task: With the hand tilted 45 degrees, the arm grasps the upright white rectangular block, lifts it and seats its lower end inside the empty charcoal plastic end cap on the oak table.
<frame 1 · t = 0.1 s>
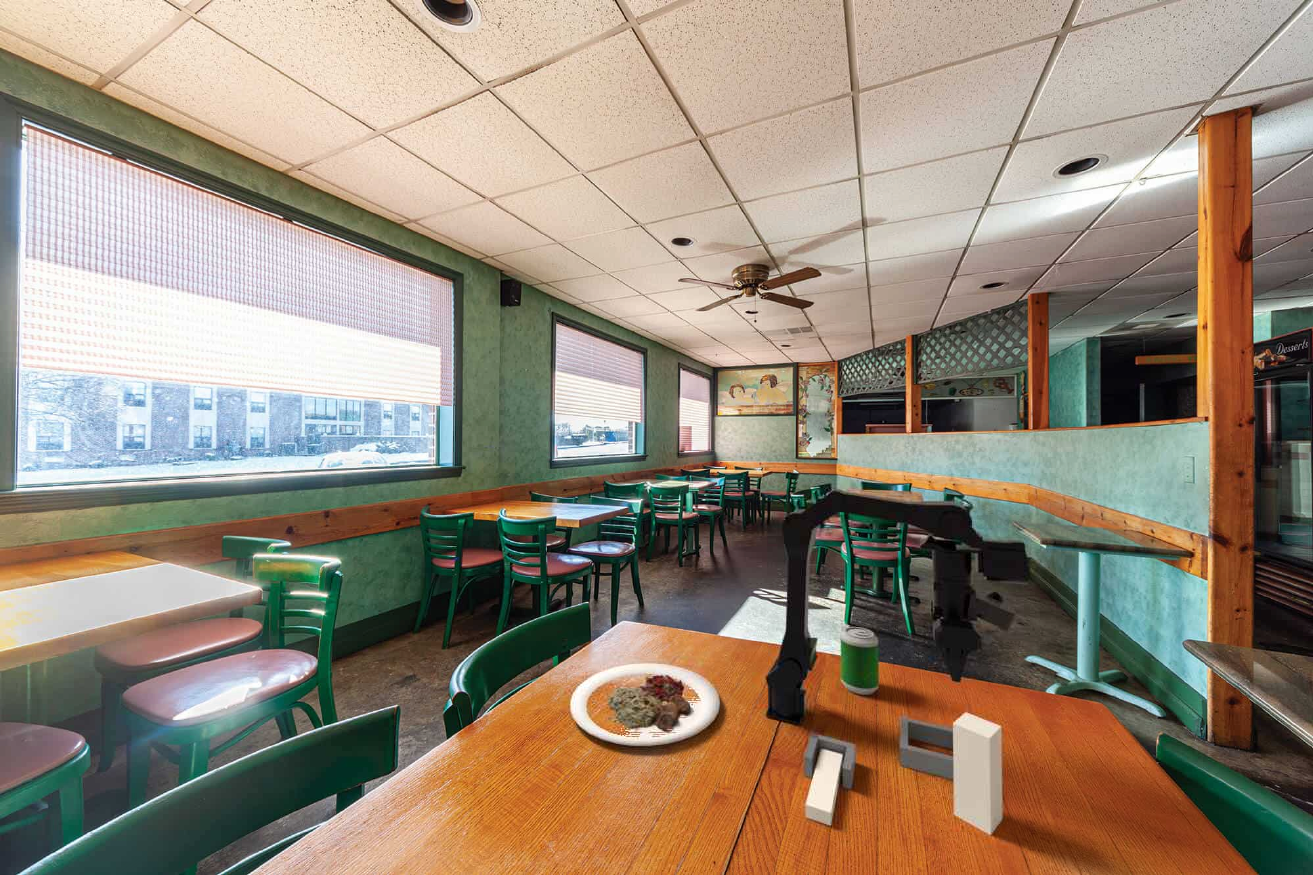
hand: (953, 669, 81), 15 cm above the table, tool pointing down, fingers open, 9 cm apart
white rectangular block: (978, 816, 68), on the table
plated food: (645, 707, 98), on the table
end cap: (933, 756, 81), on the table
soda can: (859, 688, 104), on the table
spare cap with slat: (830, 768, 78), on the table
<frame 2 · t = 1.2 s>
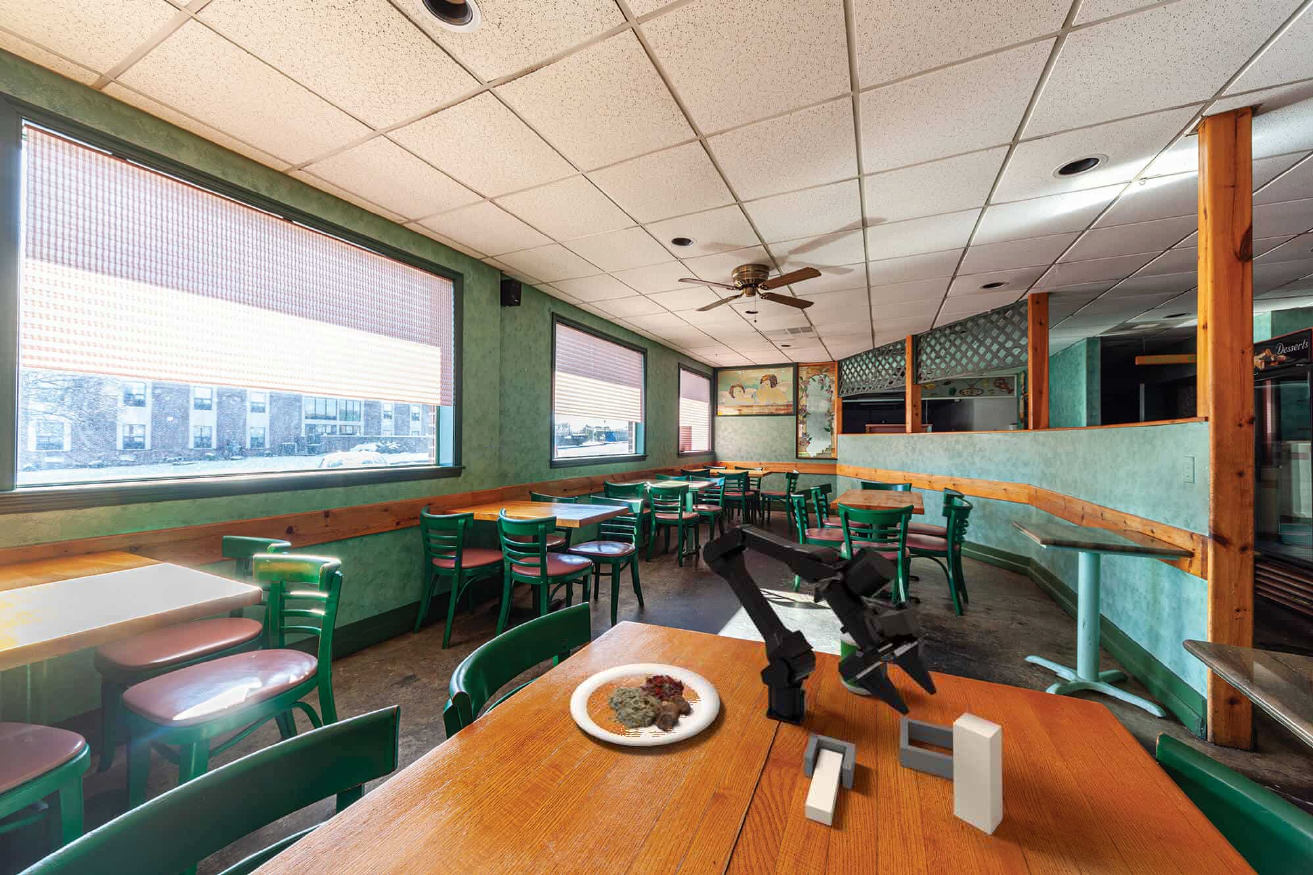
hand: (921, 703, 74), 13 cm above the table, tool tilted 45°, fingers open, 9 cm apart
nothing on the table moved.
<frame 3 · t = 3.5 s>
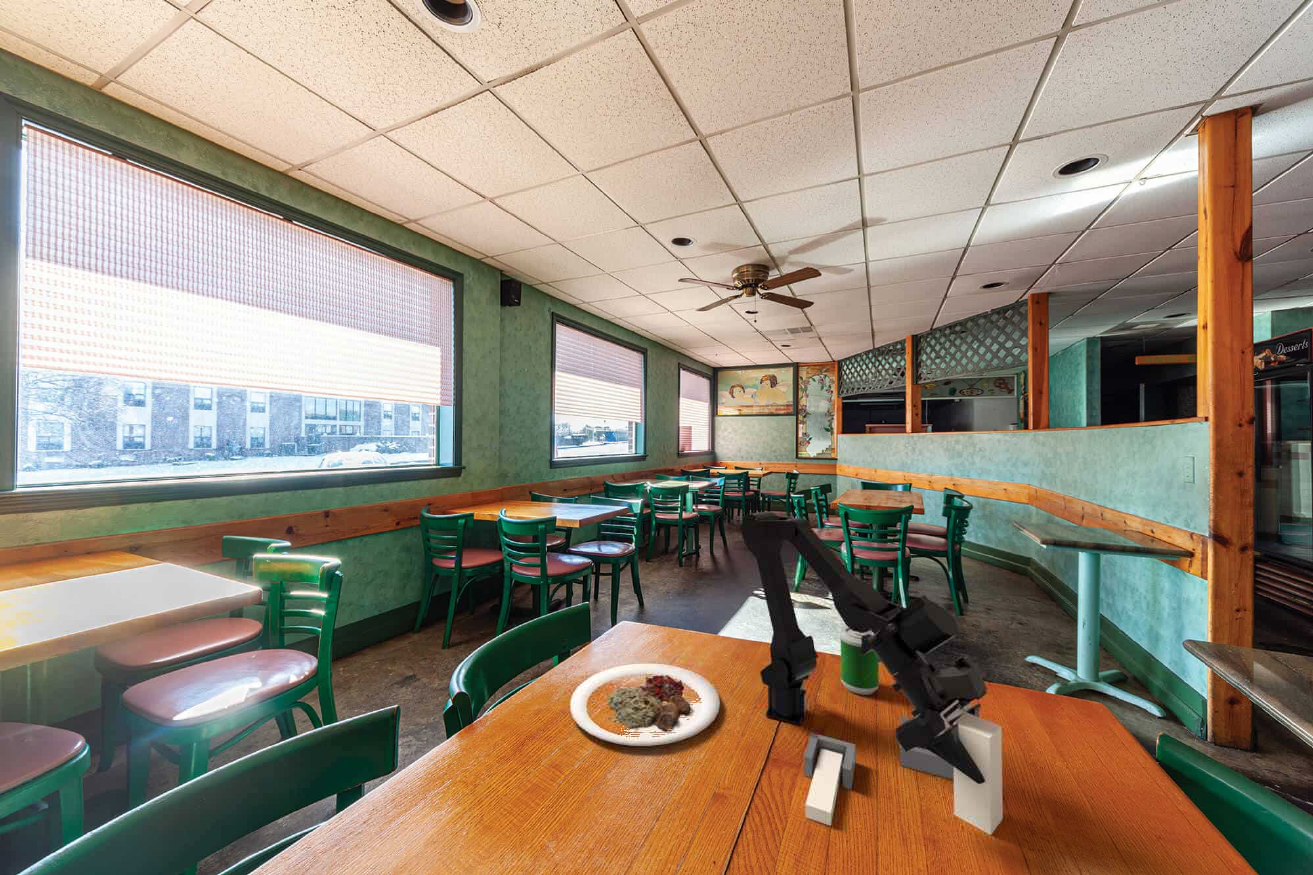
hand: (988, 775, 67), 7 cm above the table, tool tilted 45°, fingers closed on white rectangular block, 4 cm apart
white rectangular block: (978, 816, 68), on the table, touching gripper
everything else where it was.
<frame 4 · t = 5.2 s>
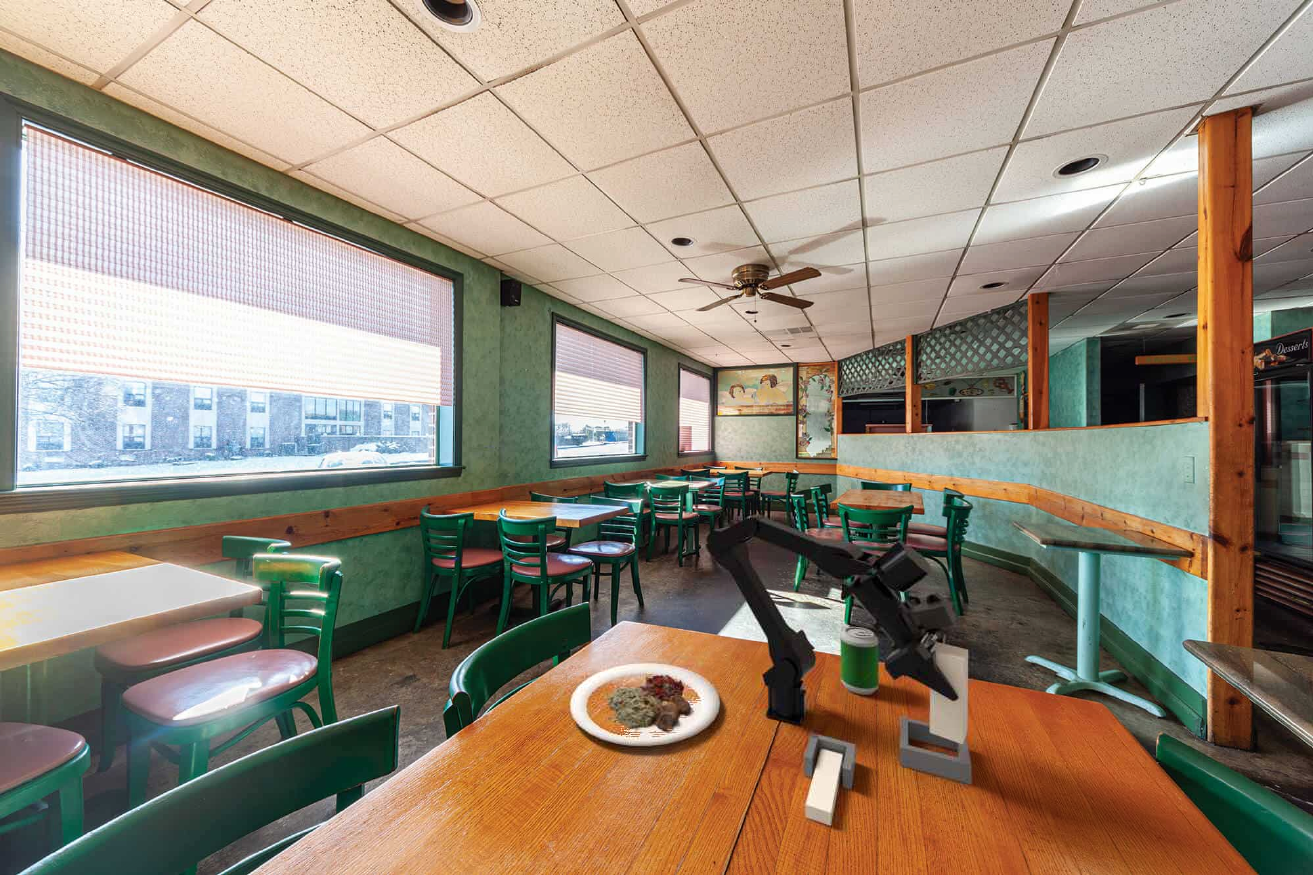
hand: (958, 693, 76), 13 cm above the table, tool tilted 45°, fingers closed on white rectangular block, 4 cm apart
white rectangular block: (948, 731, 77), point 7 cm above the table, touching gripper
everything else where it was.
when the fingers open (8 cm above the table, at t = 7.2 s): white rectangular block drops 1 cm, resting in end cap.
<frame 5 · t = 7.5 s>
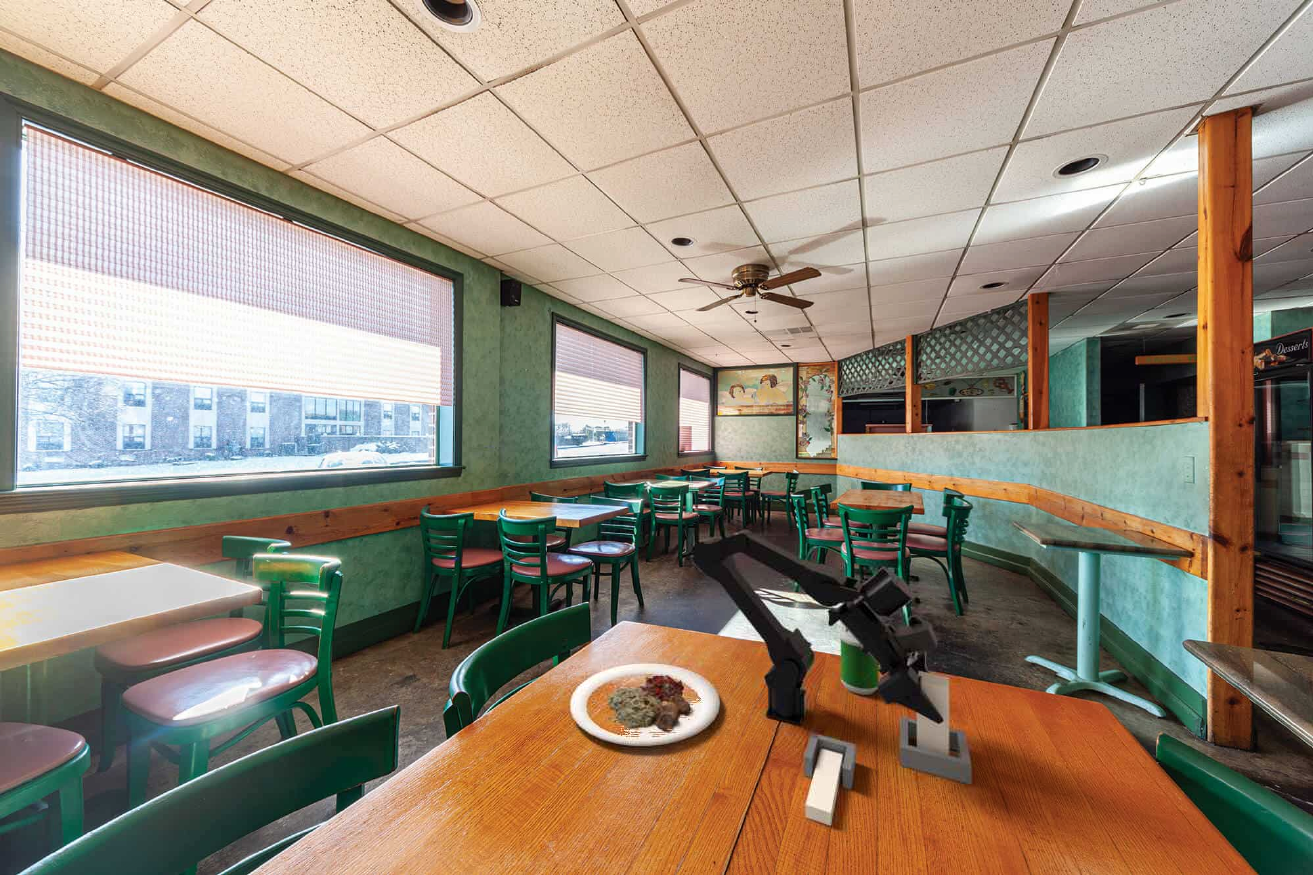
hand: (942, 711, 80), 8 cm above the table, tool tilted 45°, fingers open, 7 cm apart
white rectangular block: (933, 756, 81), resting in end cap
everything else where it was.
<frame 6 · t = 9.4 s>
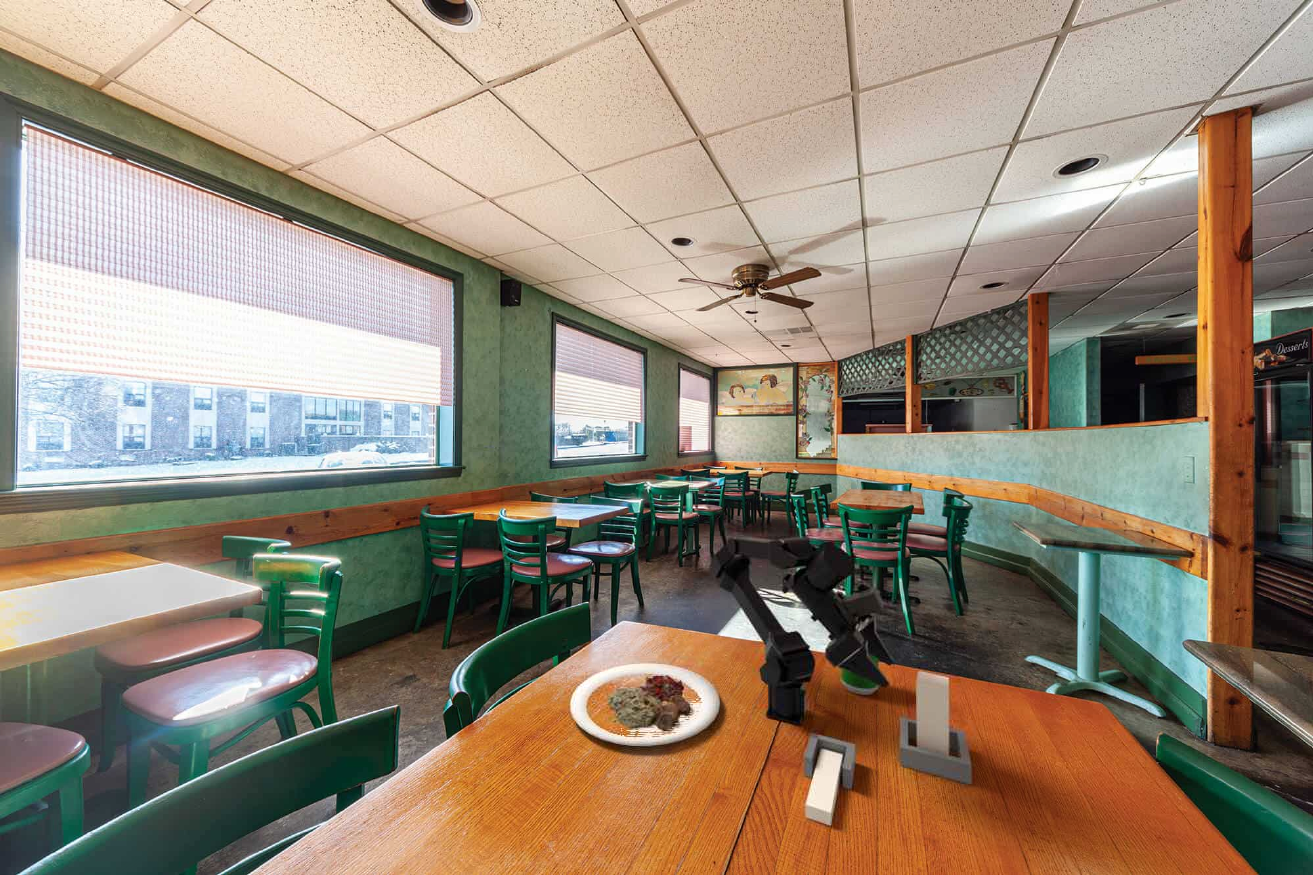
hand: (889, 674, 81), 14 cm above the table, tool tilted 45°, fingers open, 9 cm apart
nothing on the table moved.
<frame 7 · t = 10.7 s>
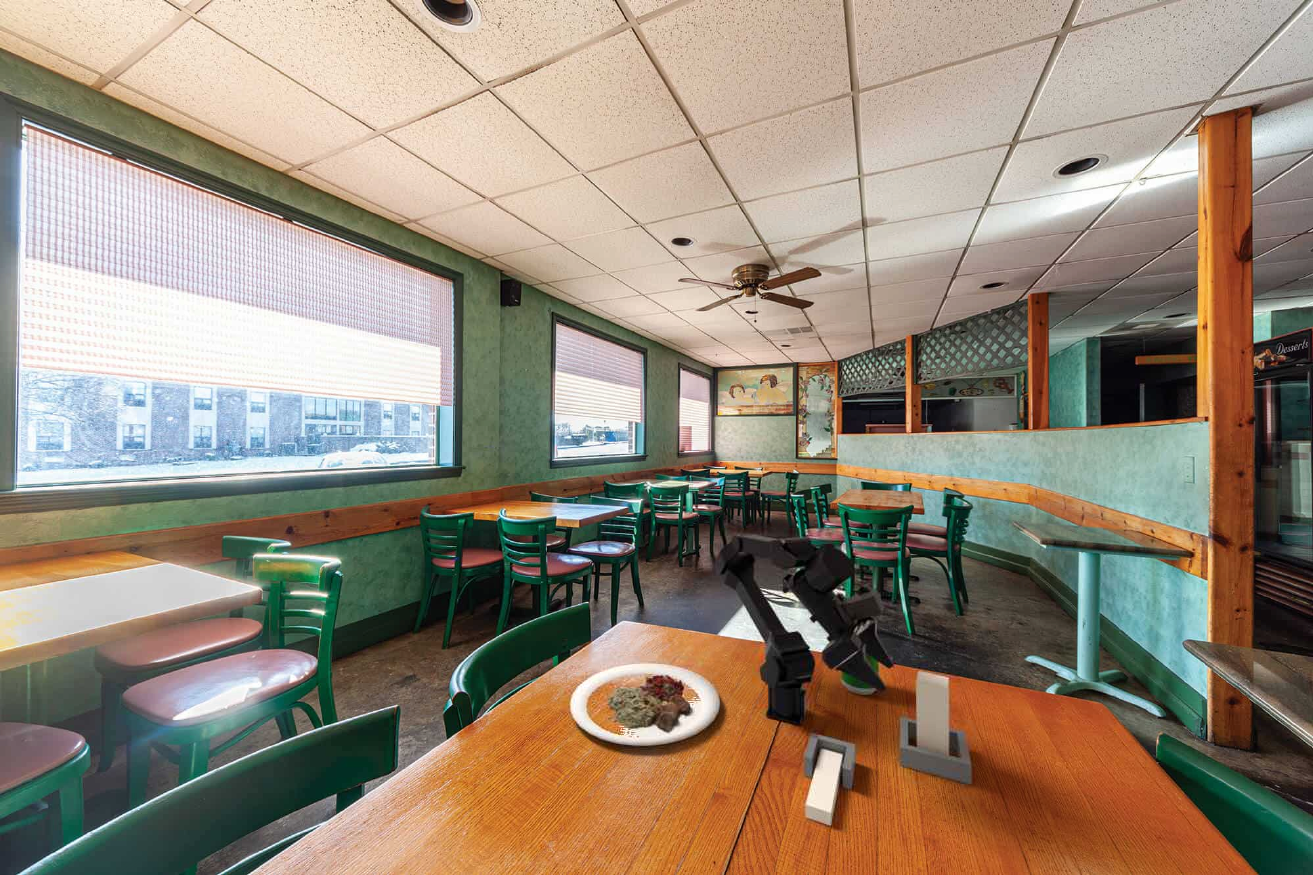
hand: (888, 677, 81), 14 cm above the table, tool tilted 45°, fingers open, 9 cm apart
nothing on the table moved.
at the end: white rectangular block 0.0 cm off-centre on the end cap, point 0.0 cm above the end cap's base; white rectangular block tilted 0°; the gripper is holding nothing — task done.
